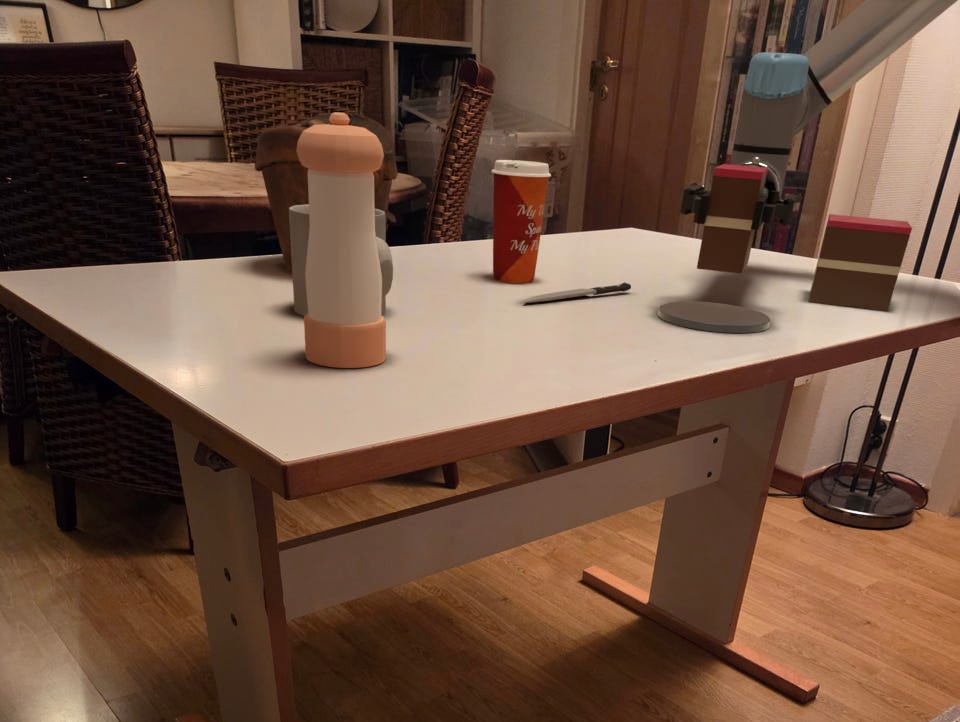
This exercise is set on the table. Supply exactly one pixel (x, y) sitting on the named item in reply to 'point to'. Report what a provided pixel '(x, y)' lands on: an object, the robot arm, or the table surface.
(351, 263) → the salt shaker
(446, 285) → the table surface
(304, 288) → the coffee mug
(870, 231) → the cake
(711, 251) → the cake slice
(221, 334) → the table surface
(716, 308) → the cake plate
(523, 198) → the paper cup
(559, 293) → the chef's knife
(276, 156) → the flower pot
